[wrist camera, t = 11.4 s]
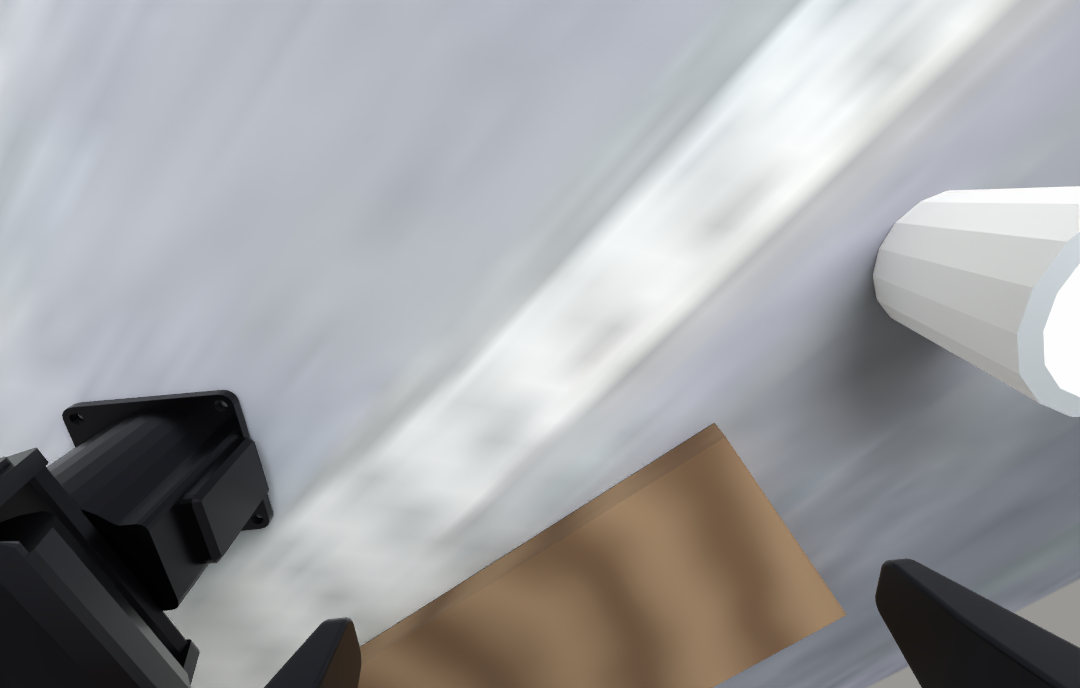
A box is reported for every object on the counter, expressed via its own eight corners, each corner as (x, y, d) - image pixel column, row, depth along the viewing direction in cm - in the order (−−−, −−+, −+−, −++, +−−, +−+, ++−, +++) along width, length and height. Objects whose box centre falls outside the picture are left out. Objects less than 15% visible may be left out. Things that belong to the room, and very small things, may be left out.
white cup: (890, 370, 22) (1051, 459, 16) (832, 238, 20) (992, 279, 14) (1042, 282, 21) (1281, 339, 15) (999, 135, 19) (1258, 124, 13)
